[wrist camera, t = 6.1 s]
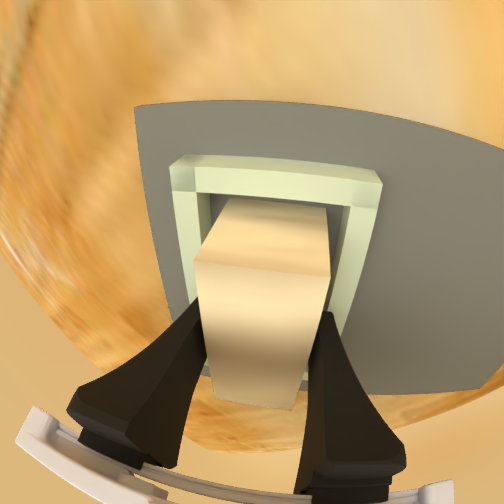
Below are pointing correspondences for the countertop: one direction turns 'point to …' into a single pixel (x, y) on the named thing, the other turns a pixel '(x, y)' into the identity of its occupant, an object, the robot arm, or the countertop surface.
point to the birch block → (262, 298)
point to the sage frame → (284, 187)
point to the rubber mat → (383, 235)
